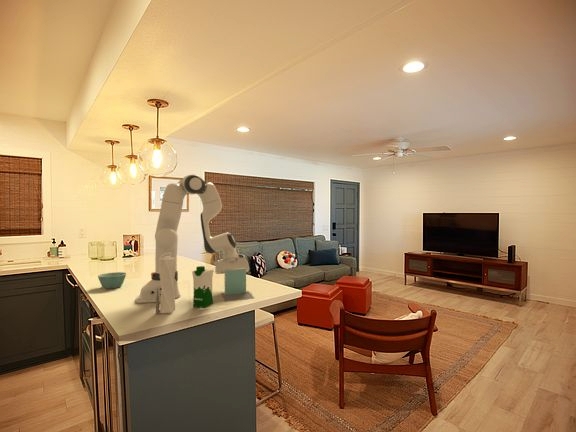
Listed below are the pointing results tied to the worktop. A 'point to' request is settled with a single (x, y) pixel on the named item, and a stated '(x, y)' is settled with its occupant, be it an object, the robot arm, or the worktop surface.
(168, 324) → the worktop surface
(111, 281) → the bowl
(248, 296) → the mat
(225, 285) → the tile
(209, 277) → the milk carton
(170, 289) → the skyscraper
